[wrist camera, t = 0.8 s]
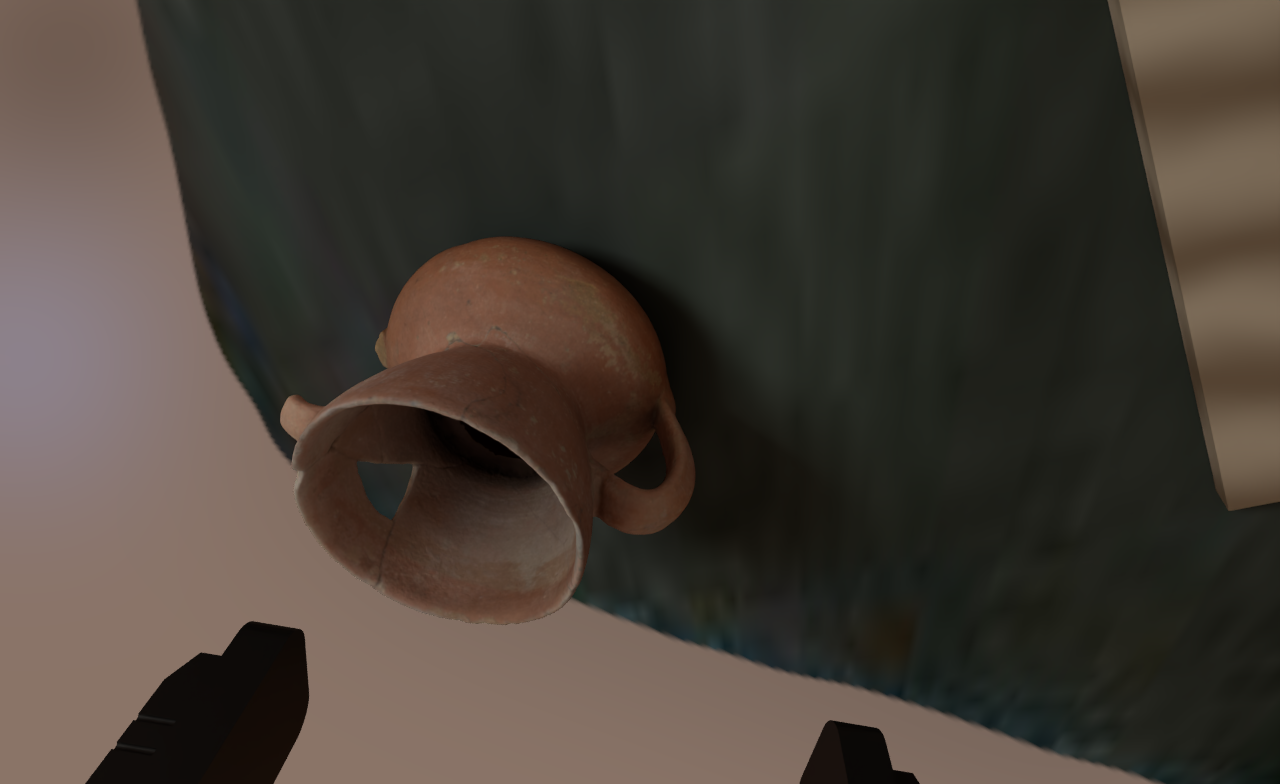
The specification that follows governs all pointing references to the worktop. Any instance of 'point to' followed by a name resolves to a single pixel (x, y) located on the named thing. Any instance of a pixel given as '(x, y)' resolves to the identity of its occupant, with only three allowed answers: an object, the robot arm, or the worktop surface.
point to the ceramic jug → (494, 434)
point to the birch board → (1217, 212)
